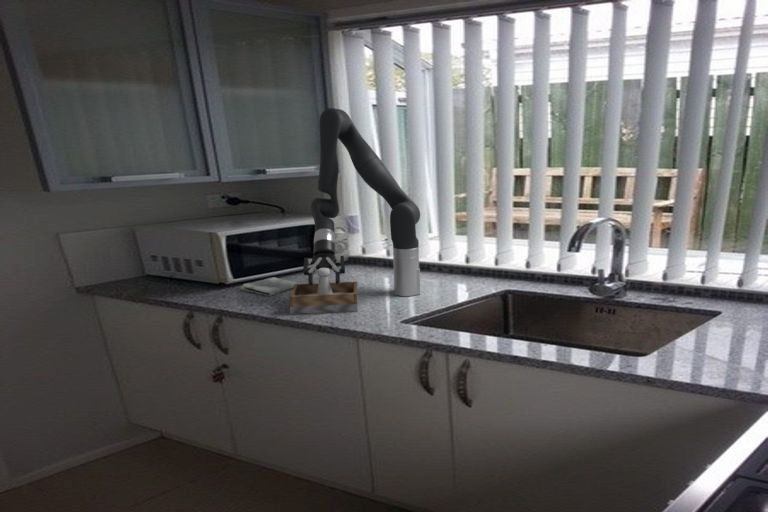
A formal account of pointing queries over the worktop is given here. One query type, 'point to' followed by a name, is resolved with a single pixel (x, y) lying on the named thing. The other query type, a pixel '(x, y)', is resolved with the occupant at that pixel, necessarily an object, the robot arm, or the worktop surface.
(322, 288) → the salt shaker
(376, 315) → the worktop surface
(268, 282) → the dish towel
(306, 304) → the bore box
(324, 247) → the robot arm
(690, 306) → the worktop surface
